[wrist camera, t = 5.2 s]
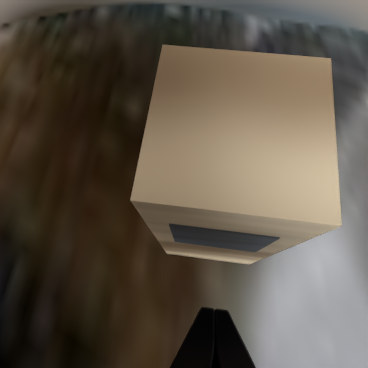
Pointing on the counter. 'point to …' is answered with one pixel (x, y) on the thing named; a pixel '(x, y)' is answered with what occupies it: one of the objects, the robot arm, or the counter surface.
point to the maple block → (238, 154)
